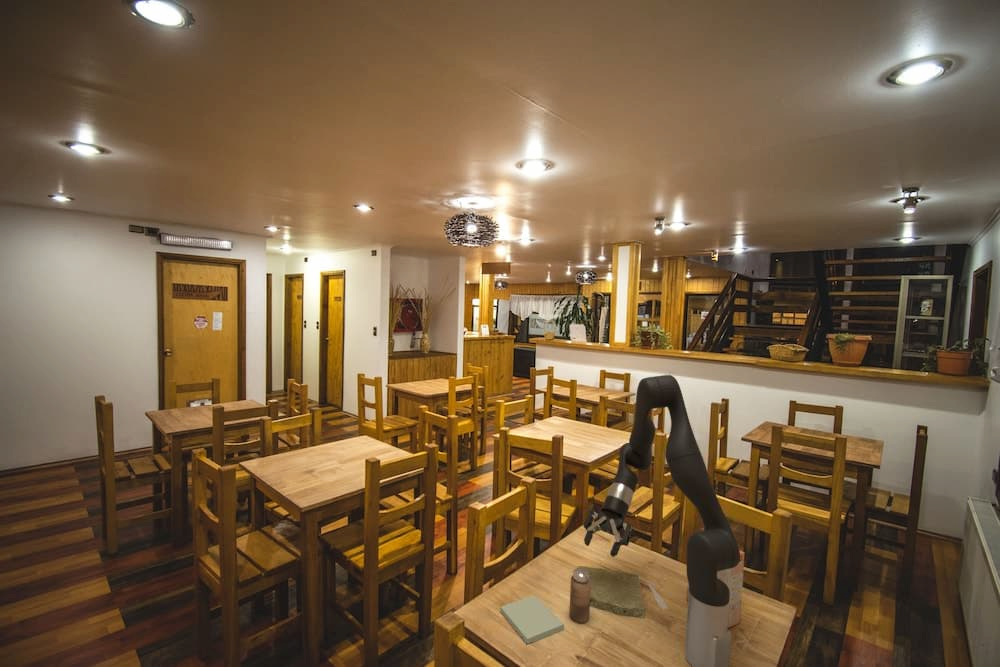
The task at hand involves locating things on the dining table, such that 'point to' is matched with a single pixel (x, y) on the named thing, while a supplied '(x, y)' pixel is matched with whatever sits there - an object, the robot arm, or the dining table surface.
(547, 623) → the serving board
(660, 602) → the butter knife
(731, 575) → the cracker box
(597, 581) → the decorative tile
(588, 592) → the pepper mill
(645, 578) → the dining table surface
